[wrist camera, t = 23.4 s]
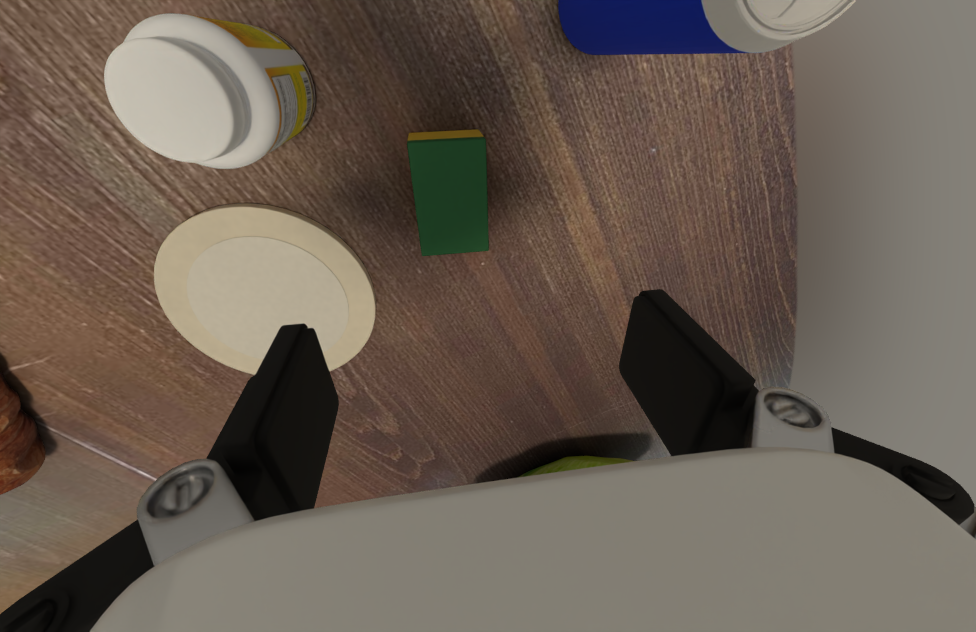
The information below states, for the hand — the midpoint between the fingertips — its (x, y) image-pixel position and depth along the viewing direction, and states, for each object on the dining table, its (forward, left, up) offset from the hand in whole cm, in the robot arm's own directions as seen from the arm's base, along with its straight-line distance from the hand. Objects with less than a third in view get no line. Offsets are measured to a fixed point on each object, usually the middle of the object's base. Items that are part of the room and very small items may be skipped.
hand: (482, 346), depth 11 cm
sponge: (0, 0, -18) cm, 18 cm away
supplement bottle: (-6, -10, -18) cm, 22 cm away
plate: (+8, -14, -18) cm, 24 cm away
